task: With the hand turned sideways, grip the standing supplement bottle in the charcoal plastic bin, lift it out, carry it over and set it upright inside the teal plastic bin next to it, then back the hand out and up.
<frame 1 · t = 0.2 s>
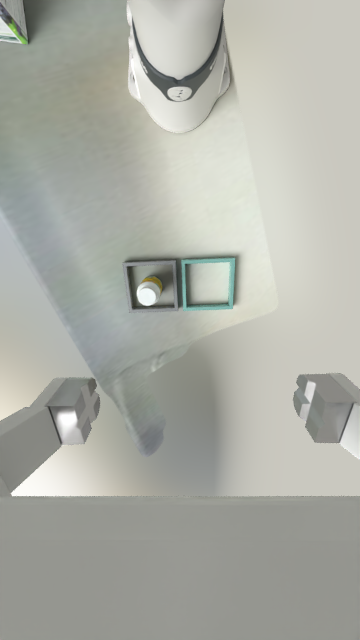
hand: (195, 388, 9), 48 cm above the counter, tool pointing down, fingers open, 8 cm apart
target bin: (207, 284, 56), on the counter
syrup box: (10, 21, 39), on the counter
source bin: (152, 286, 56), on the counter
supplement bottle: (152, 286, 56), resting in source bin
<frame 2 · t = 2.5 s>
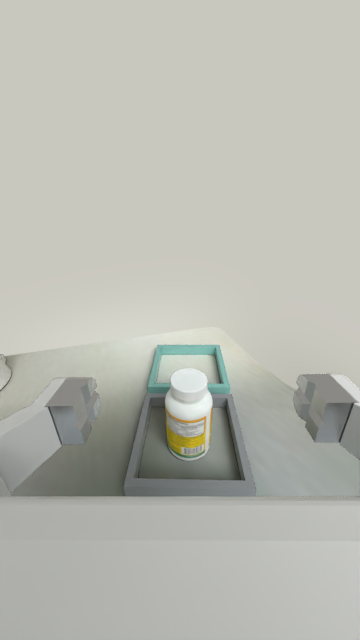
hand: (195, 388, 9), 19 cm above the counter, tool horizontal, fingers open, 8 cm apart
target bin: (188, 371, 40), on the counter
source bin: (188, 441, 27), on the counter
supplement bottle: (188, 442, 27), resting in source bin
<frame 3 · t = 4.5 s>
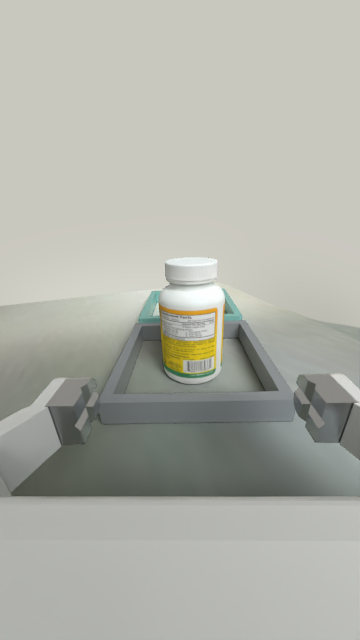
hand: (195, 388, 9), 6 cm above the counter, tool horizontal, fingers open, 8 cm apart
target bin: (189, 312, 33), on the counter
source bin: (192, 366, 20), on the counter
supplement bottle: (192, 368, 20), resting in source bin
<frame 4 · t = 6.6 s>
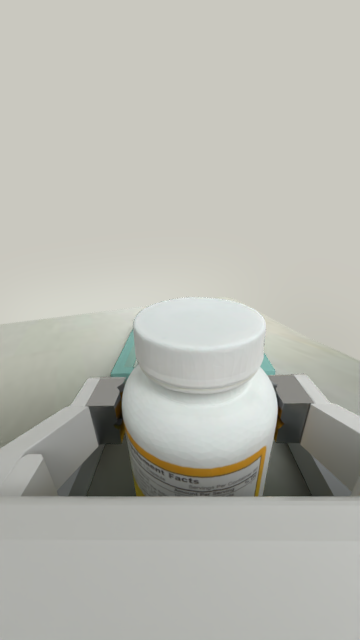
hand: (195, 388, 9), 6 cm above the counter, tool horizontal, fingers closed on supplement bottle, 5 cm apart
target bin: (190, 350, 23), on the counter
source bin: (197, 502, 10), on the counter
supplement bottle: (197, 504, 11), resting in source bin, touching gripper
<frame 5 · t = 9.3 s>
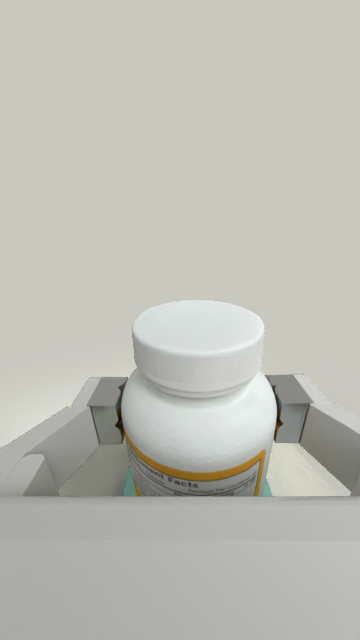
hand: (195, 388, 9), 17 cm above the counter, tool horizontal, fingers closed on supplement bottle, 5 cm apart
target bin: (199, 567, 16), on the counter
supplement bottle: (197, 506, 11), point 10 cm above the counter, touching gripper
when the fingers open (7 cm above the counter, at t = 11.7 s): supplement bottle drops 1 cm, resting in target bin.
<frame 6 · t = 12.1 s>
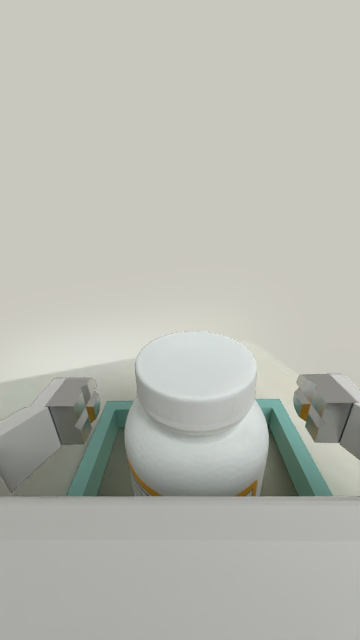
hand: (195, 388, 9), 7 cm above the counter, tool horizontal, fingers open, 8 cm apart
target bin: (197, 519, 11), on the counter
supplement bottle: (195, 522, 11), resting in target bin
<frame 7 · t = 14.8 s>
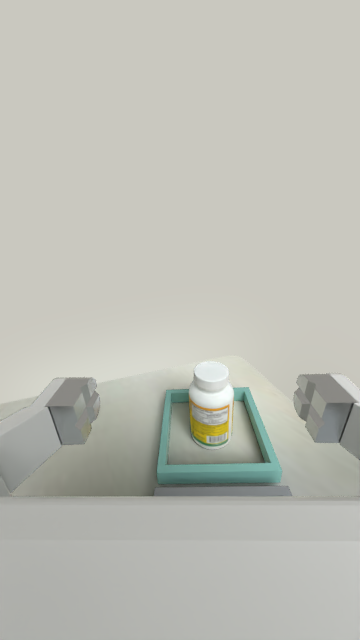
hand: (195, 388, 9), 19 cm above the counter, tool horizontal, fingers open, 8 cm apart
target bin: (211, 431, 29), on the counter
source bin: (233, 597, 16), on the counter
supplement bottle: (211, 433, 29), resting in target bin
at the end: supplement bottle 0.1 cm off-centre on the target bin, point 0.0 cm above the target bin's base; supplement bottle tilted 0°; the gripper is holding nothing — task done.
